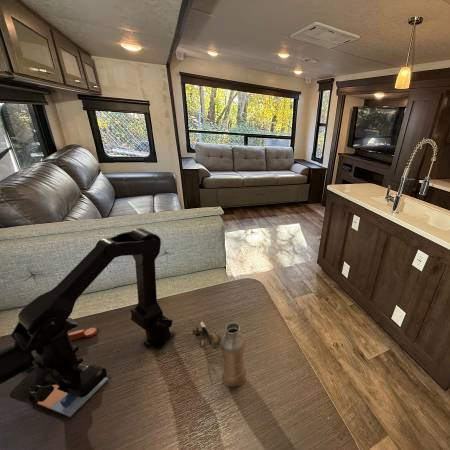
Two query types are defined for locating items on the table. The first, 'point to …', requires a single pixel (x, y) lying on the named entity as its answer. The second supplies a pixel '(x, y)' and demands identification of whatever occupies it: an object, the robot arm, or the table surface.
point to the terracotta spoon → (82, 333)
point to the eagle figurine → (206, 335)
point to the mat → (58, 395)
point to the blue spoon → (67, 400)
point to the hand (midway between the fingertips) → (73, 393)
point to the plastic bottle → (233, 355)
